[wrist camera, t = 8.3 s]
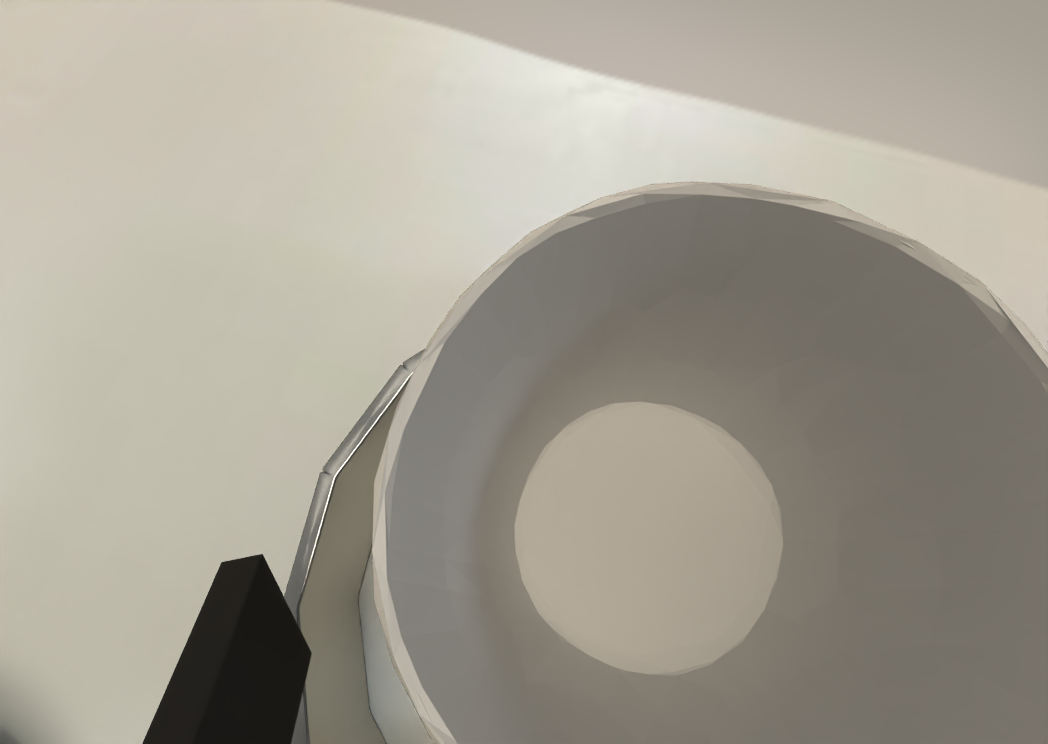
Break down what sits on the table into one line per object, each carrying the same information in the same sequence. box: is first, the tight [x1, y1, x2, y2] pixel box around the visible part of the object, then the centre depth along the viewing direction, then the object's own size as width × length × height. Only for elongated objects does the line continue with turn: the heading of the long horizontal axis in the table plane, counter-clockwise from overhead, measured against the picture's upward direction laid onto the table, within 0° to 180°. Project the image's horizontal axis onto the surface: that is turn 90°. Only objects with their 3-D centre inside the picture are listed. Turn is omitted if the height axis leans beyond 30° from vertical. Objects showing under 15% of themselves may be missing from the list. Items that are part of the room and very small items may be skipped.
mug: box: [372, 182, 1048, 744], centre depth 12 cm, size 13×9×10 cm
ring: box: [284, 348, 426, 744], centre depth 15 cm, size 15×15×4 cm
